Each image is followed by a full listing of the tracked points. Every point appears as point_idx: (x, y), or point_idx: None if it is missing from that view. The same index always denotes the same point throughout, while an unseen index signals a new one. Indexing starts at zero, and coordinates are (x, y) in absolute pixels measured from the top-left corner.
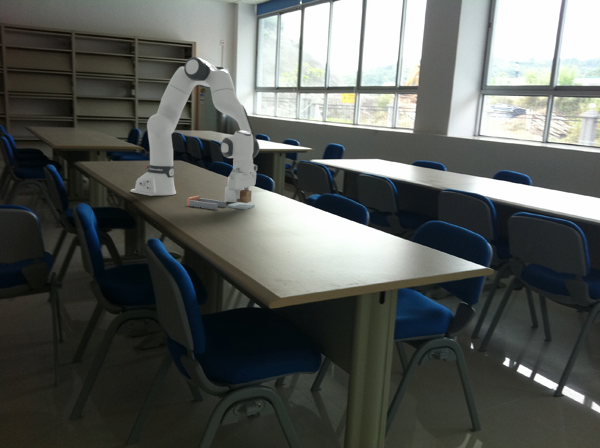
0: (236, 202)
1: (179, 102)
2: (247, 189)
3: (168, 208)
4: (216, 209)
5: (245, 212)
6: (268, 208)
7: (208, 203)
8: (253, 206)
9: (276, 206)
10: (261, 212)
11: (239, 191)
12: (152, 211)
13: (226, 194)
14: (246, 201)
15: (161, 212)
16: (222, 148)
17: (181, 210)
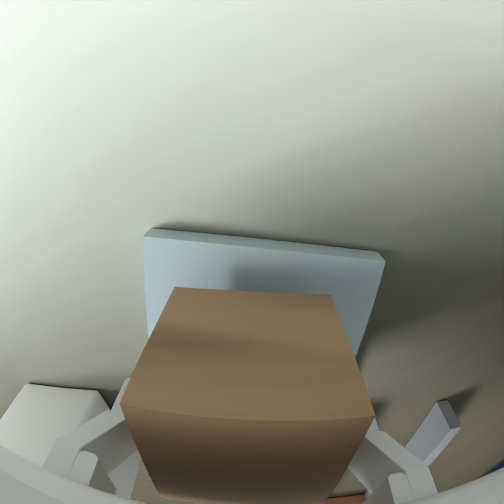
0: None
1: None
2: (88, 454)
3: (437, 488)
4: (448, 402)
5: (493, 202)
6: (156, 48)
7: (430, 460)
8: (173, 232)
9: (22, 55)
10: (433, 54)
11: (413, 470)
12: (485, 473)
13: (128, 487)
14: (334, 307)
15: (499, 458)
16: None
17: (470, 457)
